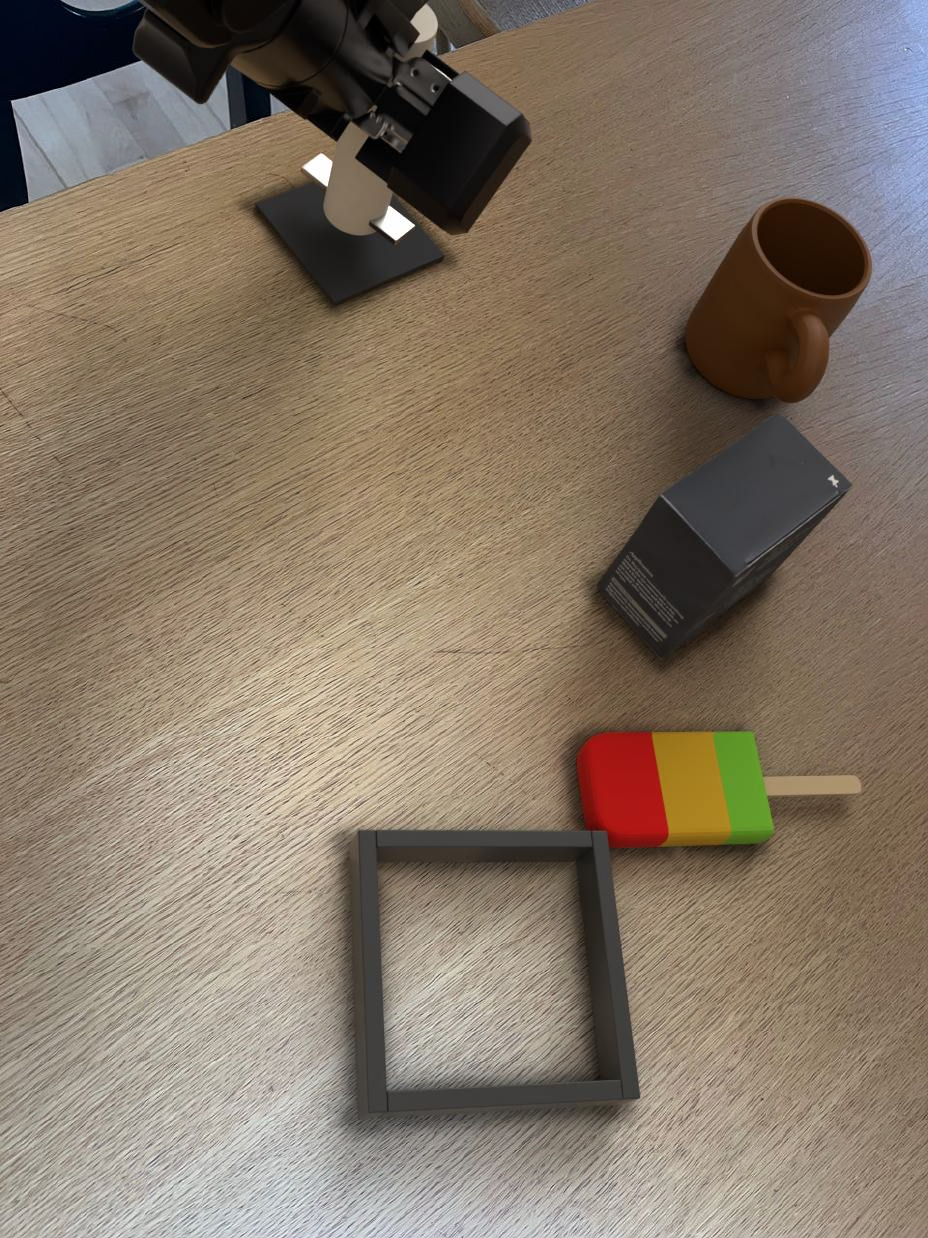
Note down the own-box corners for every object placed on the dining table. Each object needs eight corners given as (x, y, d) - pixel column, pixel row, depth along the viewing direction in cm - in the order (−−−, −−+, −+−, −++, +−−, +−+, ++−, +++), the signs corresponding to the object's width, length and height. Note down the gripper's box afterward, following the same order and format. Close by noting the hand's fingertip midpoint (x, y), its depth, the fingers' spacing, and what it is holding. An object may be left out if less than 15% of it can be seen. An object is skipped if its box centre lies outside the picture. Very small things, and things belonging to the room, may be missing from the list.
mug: (806, 475, 74) (892, 378, 66) (685, 452, 72) (758, 350, 64) (790, 318, 80) (868, 210, 71) (677, 293, 78) (744, 180, 70)
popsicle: (569, 743, 62) (582, 728, 61) (837, 740, 66) (856, 727, 65) (585, 852, 60) (599, 840, 58) (862, 843, 64) (883, 832, 62)
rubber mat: (334, 305, 71) (334, 301, 71) (254, 206, 73) (255, 202, 72) (443, 258, 74) (444, 255, 74) (365, 165, 76) (366, 161, 76)
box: (703, 504, 71) (781, 405, 63) (771, 577, 70) (859, 486, 62) (590, 585, 67) (658, 490, 58) (660, 664, 66) (740, 578, 57)
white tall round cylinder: (420, 232, 72) (479, 43, 61) (382, 263, 71) (435, 74, 60) (328, 160, 73) (369, -40, 62) (287, 189, 71) (322, -12, 60)
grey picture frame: (357, 1119, 52) (368, 1113, 50) (348, 845, 57) (357, 829, 55) (620, 1105, 55) (641, 1098, 53) (589, 845, 60) (607, 830, 58)
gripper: (579, -31, 49) (624, 80, 64) (218, -297, 51) (344, -129, 66) (412, 212, 52) (493, 264, 67) (76, -49, 54) (228, 58, 69)
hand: (392, 110), depth 67 cm, fingers closed on white tall round cylinder, 3 cm apart
